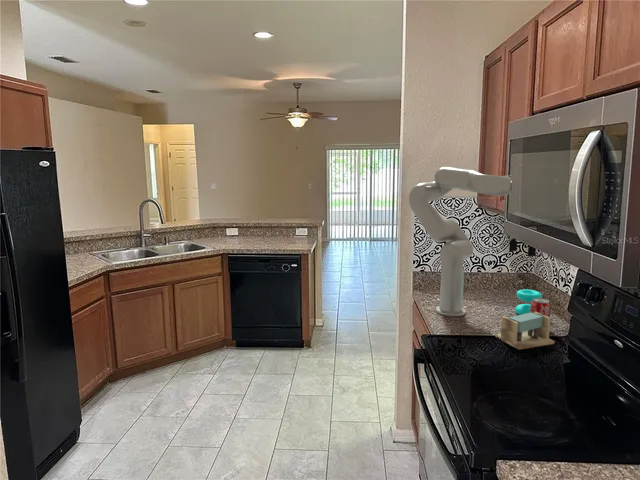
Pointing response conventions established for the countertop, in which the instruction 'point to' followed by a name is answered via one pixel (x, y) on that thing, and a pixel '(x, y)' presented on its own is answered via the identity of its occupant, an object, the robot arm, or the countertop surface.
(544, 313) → the soda can
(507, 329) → the peg stand
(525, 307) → the donuts
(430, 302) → the countertop surface
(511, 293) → the countertop surface
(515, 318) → the pale teal rectangular block
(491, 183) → the robot arm
